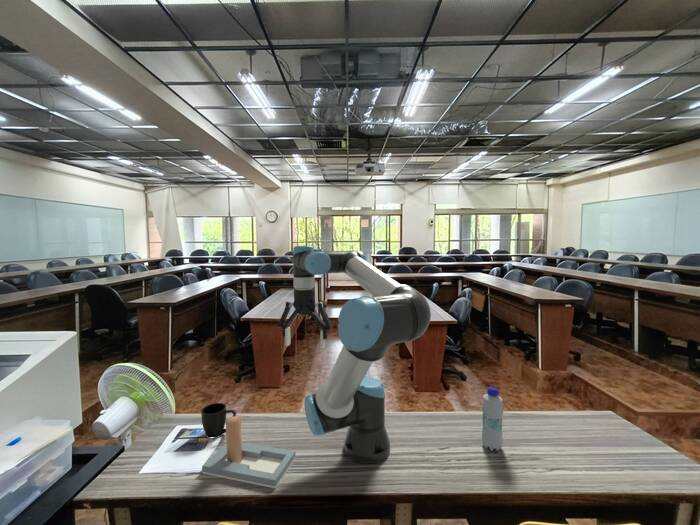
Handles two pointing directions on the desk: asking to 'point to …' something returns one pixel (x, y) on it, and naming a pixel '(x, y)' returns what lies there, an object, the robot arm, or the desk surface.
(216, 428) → the mug
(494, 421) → the bottle
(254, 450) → the keyhole board
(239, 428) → the peg
